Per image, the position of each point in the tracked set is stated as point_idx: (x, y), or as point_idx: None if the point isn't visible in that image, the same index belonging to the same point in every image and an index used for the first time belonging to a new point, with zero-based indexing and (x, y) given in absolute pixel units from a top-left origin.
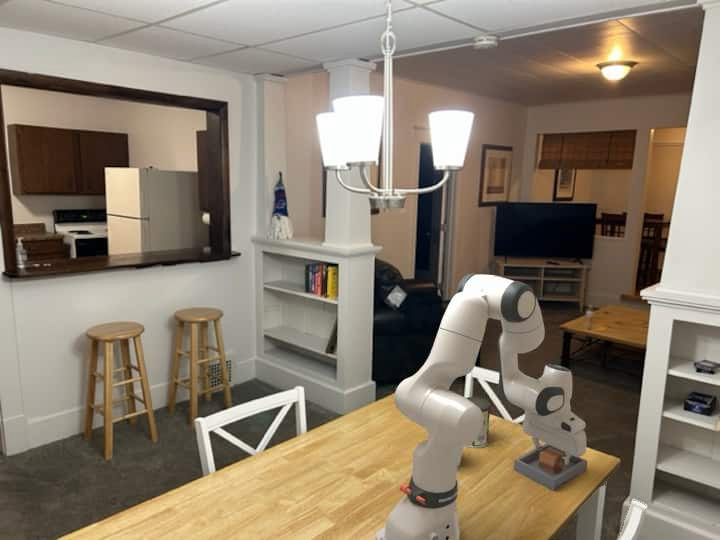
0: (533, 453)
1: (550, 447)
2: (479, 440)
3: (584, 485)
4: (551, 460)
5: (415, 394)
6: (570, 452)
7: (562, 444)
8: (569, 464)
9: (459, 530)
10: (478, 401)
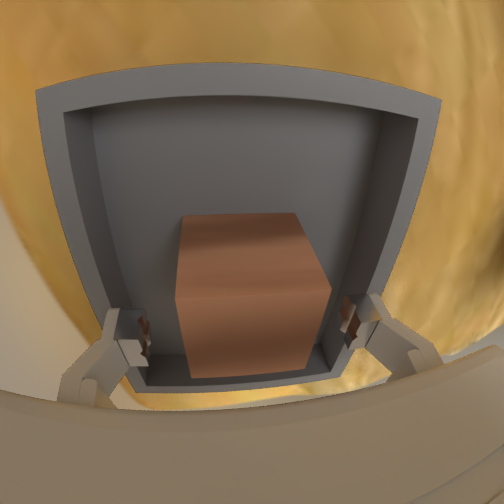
0: (369, 274)
1: (318, 365)
2: None
3: (55, 269)
4: (201, 276)
5: None
6: (24, 412)
7: (101, 474)
8: None
9: None
10: None
